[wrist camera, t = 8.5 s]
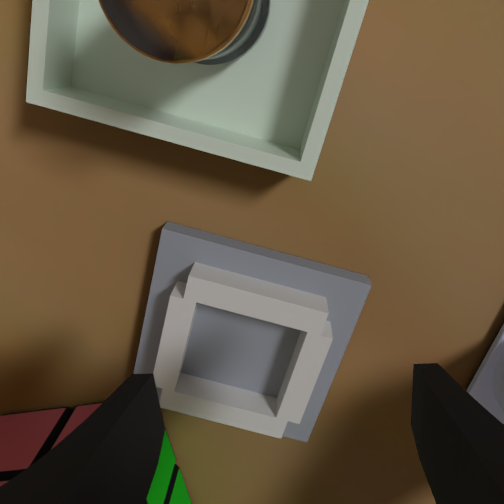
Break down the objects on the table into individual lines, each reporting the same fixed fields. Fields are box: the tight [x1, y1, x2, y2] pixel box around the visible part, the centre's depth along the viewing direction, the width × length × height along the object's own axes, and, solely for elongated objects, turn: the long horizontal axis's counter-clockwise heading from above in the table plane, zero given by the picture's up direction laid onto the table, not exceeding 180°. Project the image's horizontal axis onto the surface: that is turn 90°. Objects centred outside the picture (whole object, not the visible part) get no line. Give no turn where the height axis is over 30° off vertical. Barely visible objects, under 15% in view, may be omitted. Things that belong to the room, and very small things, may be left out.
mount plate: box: [133, 221, 372, 442], centre depth 23 cm, size 10×10×2 cm
